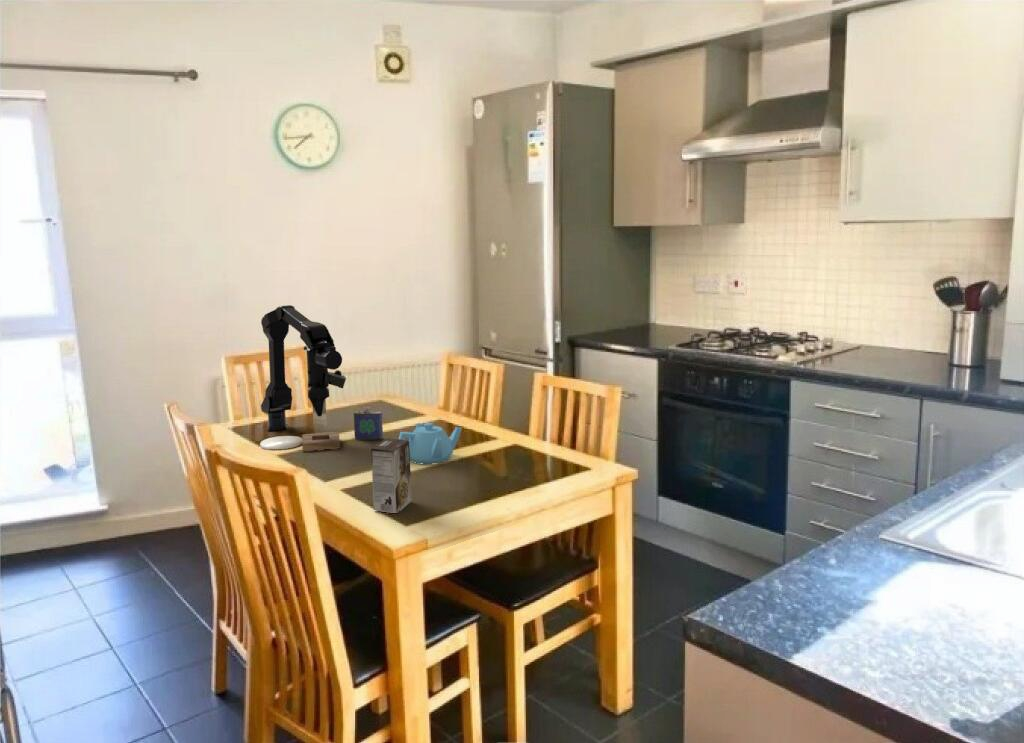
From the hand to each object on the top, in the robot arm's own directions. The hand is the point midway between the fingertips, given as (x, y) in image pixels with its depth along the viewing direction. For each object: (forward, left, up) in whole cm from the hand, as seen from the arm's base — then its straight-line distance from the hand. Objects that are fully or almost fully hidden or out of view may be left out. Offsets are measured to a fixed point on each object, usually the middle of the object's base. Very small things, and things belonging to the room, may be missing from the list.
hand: (319, 414), depth 240 cm
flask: (-3, +15, -10) cm, 18 cm away
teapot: (+23, +31, -10) cm, 40 cm away
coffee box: (+60, +16, -10) cm, 63 cm away
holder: (0, 0, -10) cm, 10 cm away
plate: (-5, -12, -10) cm, 16 cm away
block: (0, 0, -4) cm, 4 cm away
